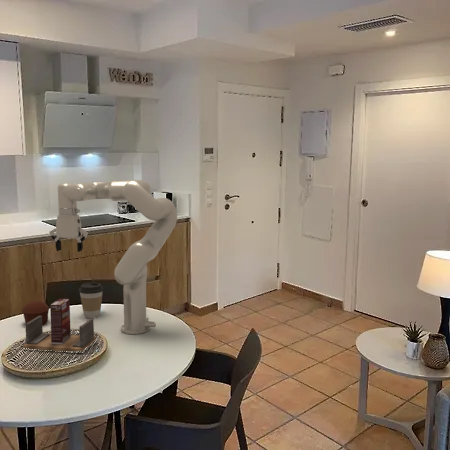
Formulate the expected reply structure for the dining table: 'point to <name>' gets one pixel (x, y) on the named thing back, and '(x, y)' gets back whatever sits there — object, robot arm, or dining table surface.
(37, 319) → the shelf
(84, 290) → the coffee cup
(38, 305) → the muffin
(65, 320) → the supplement box
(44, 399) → the dining table surface
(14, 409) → the dining table surface
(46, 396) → the dining table surface
